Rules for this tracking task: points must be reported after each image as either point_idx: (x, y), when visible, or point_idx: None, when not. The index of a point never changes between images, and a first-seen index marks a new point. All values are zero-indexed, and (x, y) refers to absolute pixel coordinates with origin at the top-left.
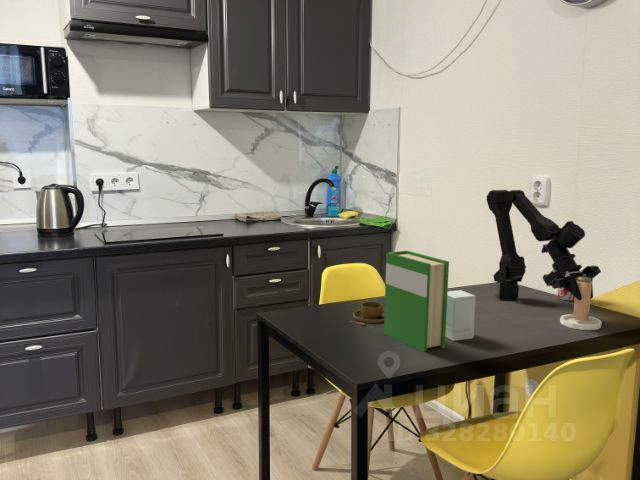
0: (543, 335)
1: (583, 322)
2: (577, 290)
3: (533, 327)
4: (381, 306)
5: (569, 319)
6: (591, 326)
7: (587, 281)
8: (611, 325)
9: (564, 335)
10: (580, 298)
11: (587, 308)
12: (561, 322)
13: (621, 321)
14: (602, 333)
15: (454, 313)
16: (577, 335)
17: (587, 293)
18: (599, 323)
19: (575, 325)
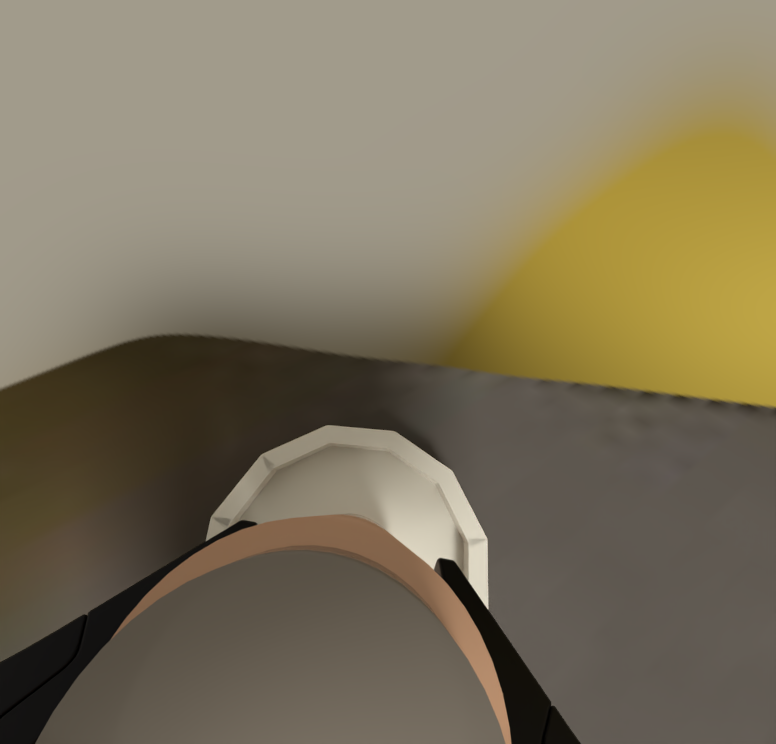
0: (751, 557)
1: None
2: (516, 653)
3: (708, 729)
4: None
5: None
6: (408, 443)
7: (394, 572)
8: (201, 430)
9: (629, 482)
10: (455, 569)
11: (356, 515)
12: None
13: (53, 439)
14: (402, 379)
15: None
16: (559, 439)
17: (377, 526)
18: (323, 436)
19: (475, 522)
